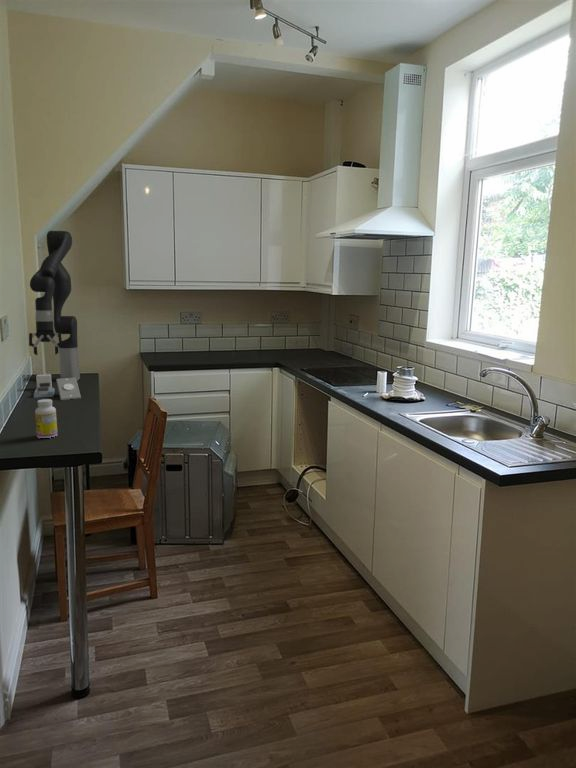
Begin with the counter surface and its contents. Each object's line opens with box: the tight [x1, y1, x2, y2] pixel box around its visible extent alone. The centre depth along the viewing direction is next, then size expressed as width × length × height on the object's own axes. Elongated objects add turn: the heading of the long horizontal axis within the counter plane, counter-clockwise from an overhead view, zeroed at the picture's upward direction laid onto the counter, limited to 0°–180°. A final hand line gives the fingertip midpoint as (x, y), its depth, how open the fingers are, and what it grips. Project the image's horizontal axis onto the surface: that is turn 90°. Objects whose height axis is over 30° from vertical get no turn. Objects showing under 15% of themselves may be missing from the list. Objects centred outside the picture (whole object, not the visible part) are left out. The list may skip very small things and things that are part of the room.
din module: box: [35, 373, 53, 389], centre depth 284 cm, size 5×6×7 cm
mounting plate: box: [33, 387, 56, 399], centre depth 274 cm, size 14×8×2 cm, turn 18°
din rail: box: [38, 382, 50, 394], centre depth 274 cm, size 14×4×3 cm, turn 18°
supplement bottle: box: [34, 398, 58, 439], centre depth 203 cm, size 7×7×13 cm
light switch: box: [55, 377, 82, 401], centre depth 269 cm, size 8×6×14 cm
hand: (46, 354), depth 279 cm, fingers open, 8 cm apart
